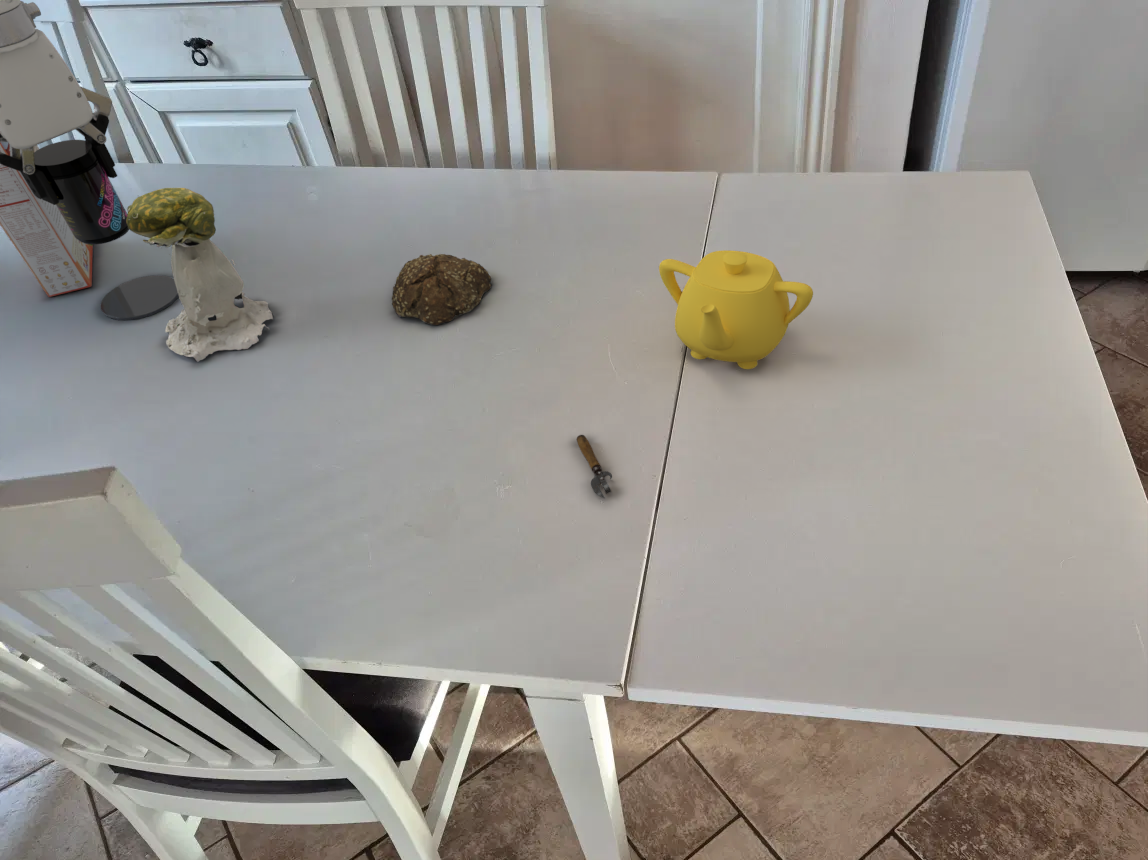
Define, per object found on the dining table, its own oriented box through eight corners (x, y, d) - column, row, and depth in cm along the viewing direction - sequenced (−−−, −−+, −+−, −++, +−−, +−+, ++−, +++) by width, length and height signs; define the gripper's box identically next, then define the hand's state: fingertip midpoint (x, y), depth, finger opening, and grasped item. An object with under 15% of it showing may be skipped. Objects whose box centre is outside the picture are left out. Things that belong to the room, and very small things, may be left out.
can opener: (576, 442, 90) (575, 435, 89) (597, 438, 90) (596, 430, 89) (596, 502, 84) (595, 495, 83) (618, 497, 84) (618, 489, 83)
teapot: (649, 332, 103) (645, 245, 94) (750, 300, 107) (755, 214, 98) (702, 397, 94) (703, 308, 86) (810, 360, 98) (822, 271, 89)
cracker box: (51, 250, 122) (-39, 105, 107) (95, 240, 124) (13, 96, 109) (45, 300, 113) (-54, 149, 98) (93, 288, 115) (2, 138, 100)
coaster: (129, 328, 108) (128, 326, 108) (86, 305, 112) (85, 303, 112) (196, 290, 113) (194, 288, 113) (152, 270, 118) (151, 267, 117)
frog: (166, 318, 109) (93, 185, 96) (267, 291, 112) (210, 159, 99) (171, 369, 102) (93, 232, 88) (279, 338, 105) (219, 202, 92)
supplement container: (103, 251, 103) (57, 169, 95) (64, 241, 105) (15, 160, 97) (145, 224, 107) (104, 143, 99) (106, 215, 109) (63, 136, 101)
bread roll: (414, 267, 115) (405, 234, 112) (499, 274, 113) (493, 241, 110) (375, 321, 107) (365, 288, 103) (467, 330, 105) (459, 296, 101)
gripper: (51, -1, 95) (127, 152, 108) (-112, 49, 85) (-7, 211, 98) (88, 9, 92) (161, 165, 105) (-77, 62, 82) (27, 228, 95)
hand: (79, 186), depth 101 cm, fingers closed on supplement container, 6 cm apart
